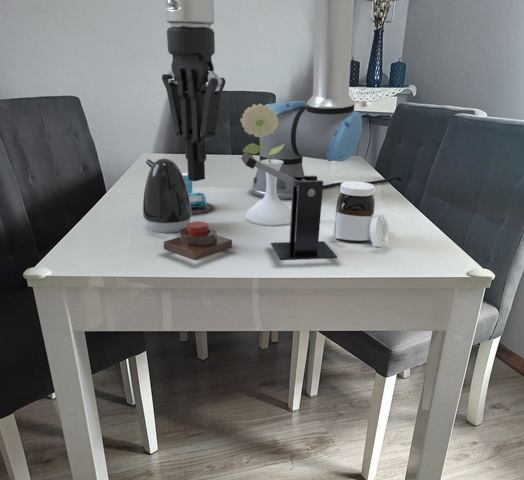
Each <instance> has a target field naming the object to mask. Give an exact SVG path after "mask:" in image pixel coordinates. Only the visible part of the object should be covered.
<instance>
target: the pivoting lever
mask: <svg viewBox="0 0 524 480" xmlns="http://www.w3.org/2000/svg"><path fill="white" fill-rule="evenodd" d="M240 160H241V161H242V162H243V164H244V165H245V166H246V167H248V168H250V169H252V170H253V169H254V168H256V169H258V168H259V169H261V170H263V171H265V172H267V173H269V174H271V175H273V176H275V177H277V178H279V179H281V180H283V181H285V182H287V183H289V184H291V185H293V186H295V187H297V190H298V181H297V180H295V179H293V178H291V177H289V176H287V175H285V174H283V173H281V172H279V171H277V170H275V169H273V168H271V167H269V166H267V165H265V164H263V163H261V162H260V160H257V159H256V158H254V156H253V154H251V153H247V152H243V154H242V156H241V157H240ZM301 181H307V180H305V179H303V178H302V180H301Z"/></svg>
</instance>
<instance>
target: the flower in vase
mask: <svg viewBox="0 0 524 480" xmlns="http://www.w3.org/2000/svg"><path fill="white" fill-rule="evenodd" d="M240 123H241V126H242V128H243V131H244V132H245V133H246V134H248V135H249V136H252V135H253V136H254V137H255V138H259V145H258V144H256V143H252V142H251V143H249V144H248V145H246V146H245V147H244V148H243V149H242V152H243V153H244V152H247V153H249V154H251V155H257V154H259V153H260V150H261V148H262V150H263V152H264V153H265V155H266V157H267V158H268V159H266V160H261V163H263V164H265V165H267V166H269V167H271V168H273V169H275V170H277V171H279V169H280V167H281V165H282V164H283V163H284V161H282V160H276V159H269V157H268V155H272V154H276V153H278V152H279V151H280V150H281V149H282V148H283V147H284V144H285V143H284V144H283V145H281V146H279V147H275V148H273V149H272V150H271V151H270V152H269V153H268V155H267V154H266V152H265V150H264V149H263V146H262V143H261V137H263V136H268V134H273V133H274V130H275V129H276V128H277V127H276V126H278V125H279V123H278V117H277V114H276V113H275V110H274V109H271V108H269V107H268V105H266V104H265V106H264V105H263V104H262V103H258V104H252V106H251V107H250V106H249V107H247V108H246V109H245V110H244V112H243V114H242V117H240ZM260 145H261V147H260ZM265 173H266V193H265V196H264V197H261V199H260V200H259V201H258V202H256V203H255V204H254V205H253V206H251V207H250V208H249V209H248V210H247V212H246V213H245V219H246V221H247V222H249V223H251V224H253V225H257V226H263V227H281V226H287V225H290V222H291V207H289V206H288V205H287V204H286V203H285V202H283V201H282V199H279V198H278V196H277V192H276V184H277V177H275V176H273V175H271V174H269V173H267V172H265Z"/></svg>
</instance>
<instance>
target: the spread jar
mask: <svg viewBox="0 0 524 480" xmlns="http://www.w3.org/2000/svg"><path fill="white" fill-rule="evenodd" d="M343 182H344V183H342V184H341V186H340V189H339V192H340V193H339V195H338V197H337V200H336V205H335V206H336V207H335V217H334V218H335V219H334V227H333V237H334V239H335V240H336V241H338V242H341V243H348V244H366V243H369V242H370V241H371V244H372V246H373V247H374V248H382V246H381V244H380V243H381V242H386V243H389V241H390V229H389V224H388V221H387V218H386V217H385V215H383V214H377V215H374V214H375V206H376V205H375V204H376V202H375V197H374V194H375V189H376V186H375V184H369V183H364V182H365V181H343Z"/></svg>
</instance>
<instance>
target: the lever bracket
mask: <svg viewBox="0 0 524 480" xmlns="http://www.w3.org/2000/svg"><path fill="white" fill-rule="evenodd" d="M302 178H303V179H305V180H307V181H301V180H302ZM293 179H295V180H297V181H298V190H297V187H295V186H292V199H291V205H290V206H291V207H290V209H291V222H290V224H289V241H287V242H270V246H271V248H272V249H273V251H274V253H275V254H276V257H277V258H278V259H279V261H296V260H297V261H299V260H323V259H325V260H327V259H338V256H337V255H336V254H335V252H334V251H333V250H332V249H331V248H330V246H329V245H328V244H327V243H326V241H324V240H321V241H320V240H319V238H320V227H321V217H322V201H323V191H324V188H323V185H324V181H323V180H318V176H317V175H305V176H293Z"/></svg>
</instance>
